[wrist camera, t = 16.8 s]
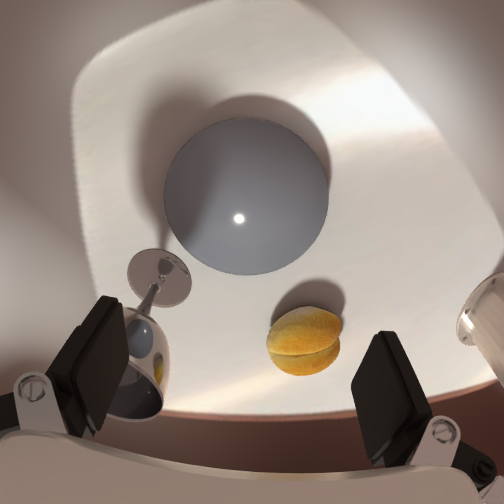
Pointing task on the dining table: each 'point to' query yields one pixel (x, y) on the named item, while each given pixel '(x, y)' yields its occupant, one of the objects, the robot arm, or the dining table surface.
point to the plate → (246, 196)
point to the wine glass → (148, 334)
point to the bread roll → (304, 341)
